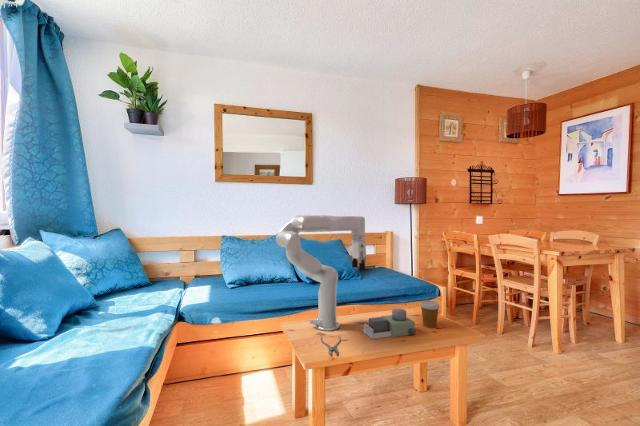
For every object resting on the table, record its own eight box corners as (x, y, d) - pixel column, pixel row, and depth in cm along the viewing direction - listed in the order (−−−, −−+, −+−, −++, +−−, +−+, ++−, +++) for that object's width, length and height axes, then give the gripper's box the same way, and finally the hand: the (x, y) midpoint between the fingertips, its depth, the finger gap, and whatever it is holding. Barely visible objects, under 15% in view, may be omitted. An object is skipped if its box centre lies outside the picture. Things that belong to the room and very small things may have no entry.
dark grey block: (373, 334, 144) (373, 321, 144) (368, 330, 149) (368, 318, 149) (388, 332, 146) (387, 320, 146) (383, 328, 151) (383, 316, 151)
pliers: (338, 334, 145) (352, 352, 126) (338, 336, 145) (352, 354, 126) (318, 336, 143) (330, 355, 124) (318, 338, 143) (330, 357, 124)
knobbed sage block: (373, 340, 139) (373, 319, 139) (360, 329, 153) (360, 309, 153) (416, 334, 146) (416, 314, 146) (400, 324, 159) (400, 305, 159)
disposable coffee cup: (442, 329, 153) (442, 305, 153) (423, 329, 153) (423, 305, 153) (435, 322, 162) (435, 300, 162) (417, 322, 162) (417, 300, 162)
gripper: (371, 239, 160) (371, 271, 160) (358, 237, 177) (358, 265, 177) (358, 239, 158) (358, 272, 158) (346, 237, 175) (346, 266, 175)
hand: (358, 268), depth 167 cm, fingers open, 9 cm apart
